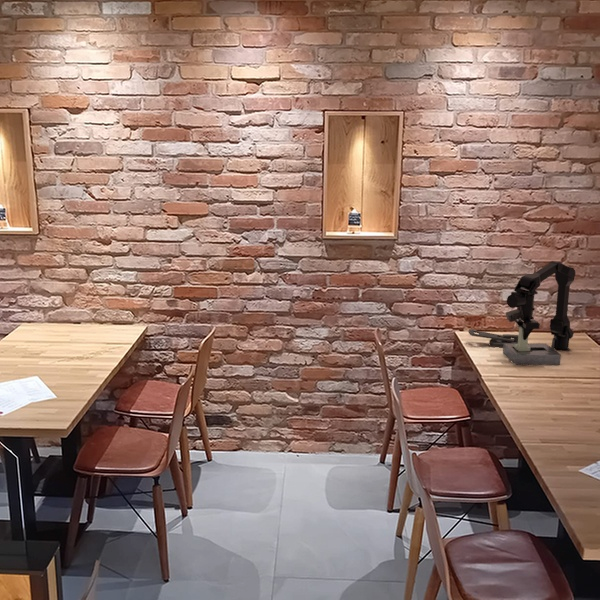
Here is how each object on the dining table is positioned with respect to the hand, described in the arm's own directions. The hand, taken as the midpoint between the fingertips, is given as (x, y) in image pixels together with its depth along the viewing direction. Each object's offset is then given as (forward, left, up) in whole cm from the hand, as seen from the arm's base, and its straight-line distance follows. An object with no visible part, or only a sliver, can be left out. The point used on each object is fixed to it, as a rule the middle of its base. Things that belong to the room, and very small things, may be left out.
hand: (523, 338), depth 321 cm
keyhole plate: (-4, 0, -10) cm, 11 cm away
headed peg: (0, 0, -5) cm, 5 cm away
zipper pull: (+5, -20, -10) cm, 23 cm away
